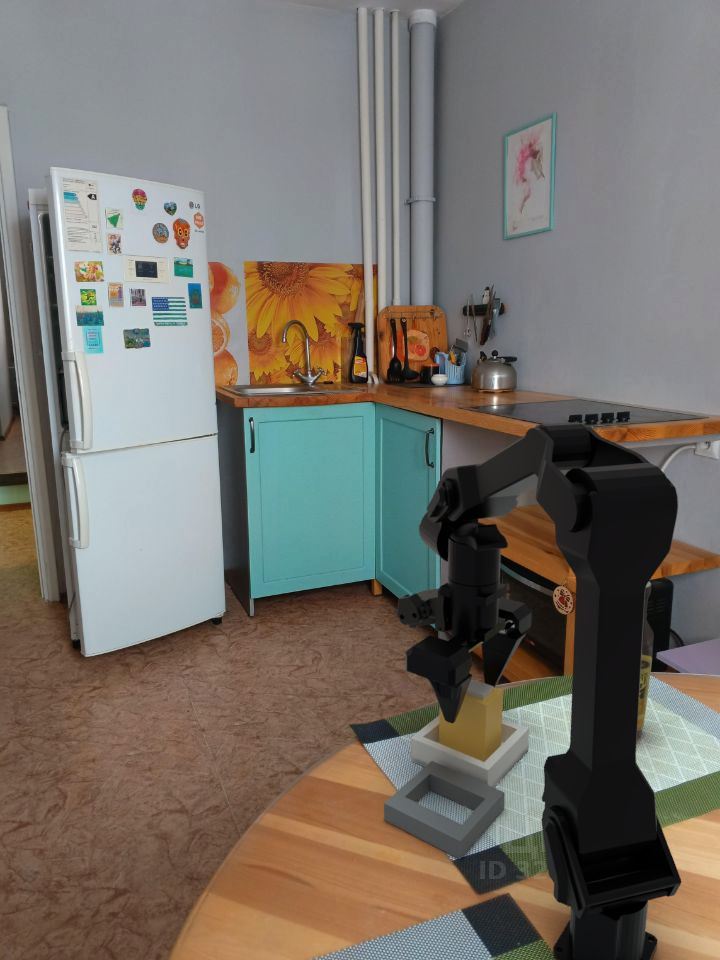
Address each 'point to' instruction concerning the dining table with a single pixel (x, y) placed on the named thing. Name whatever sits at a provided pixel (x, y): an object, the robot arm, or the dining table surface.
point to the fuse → (475, 722)
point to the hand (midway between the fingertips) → (470, 704)
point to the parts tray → (486, 772)
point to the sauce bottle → (645, 664)
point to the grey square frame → (437, 826)
